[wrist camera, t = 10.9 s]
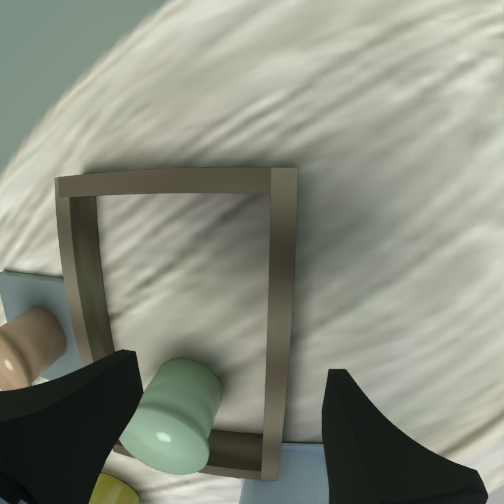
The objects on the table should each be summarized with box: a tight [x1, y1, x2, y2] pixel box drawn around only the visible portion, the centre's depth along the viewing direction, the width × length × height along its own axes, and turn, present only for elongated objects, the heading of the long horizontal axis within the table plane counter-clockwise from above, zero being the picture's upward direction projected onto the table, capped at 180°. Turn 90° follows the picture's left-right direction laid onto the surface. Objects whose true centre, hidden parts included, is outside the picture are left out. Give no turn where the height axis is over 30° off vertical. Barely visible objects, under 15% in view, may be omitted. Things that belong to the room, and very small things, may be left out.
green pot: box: [119, 359, 223, 475], centre depth 19 cm, size 6×6×6 cm
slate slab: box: [0, 271, 83, 380], centre depth 23 cm, size 10×10×1 cm
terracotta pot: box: [0, 306, 67, 391], centre depth 19 cm, size 6×6×6 cm
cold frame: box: [55, 167, 298, 481], centre depth 19 cm, size 21×14×4 cm
